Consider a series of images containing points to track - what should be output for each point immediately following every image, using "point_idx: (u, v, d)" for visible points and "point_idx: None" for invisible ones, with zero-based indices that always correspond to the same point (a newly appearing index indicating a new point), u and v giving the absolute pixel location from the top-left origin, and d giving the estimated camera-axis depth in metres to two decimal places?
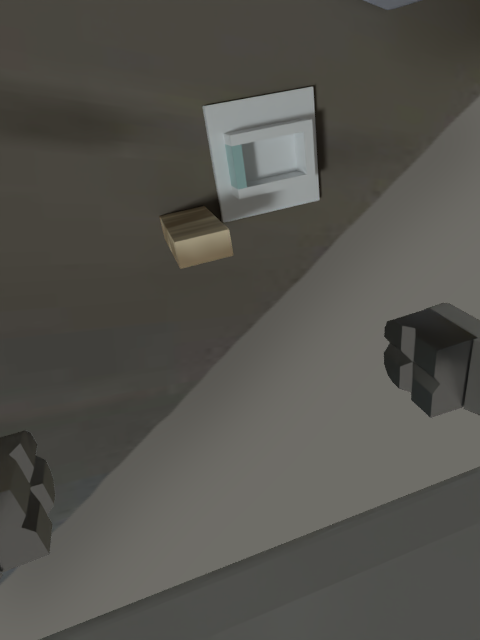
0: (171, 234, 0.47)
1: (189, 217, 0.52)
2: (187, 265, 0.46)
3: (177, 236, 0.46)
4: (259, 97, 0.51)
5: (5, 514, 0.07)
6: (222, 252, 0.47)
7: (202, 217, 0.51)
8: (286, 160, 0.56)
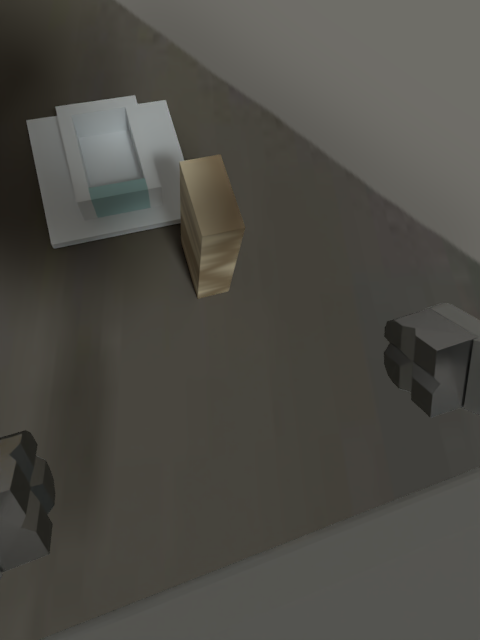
0: (200, 254, 0.31)
1: (188, 250, 0.37)
2: (238, 217, 0.29)
3: (199, 240, 0.30)
4: (39, 180, 0.41)
5: (5, 514, 0.07)
6: (216, 169, 0.30)
7: (184, 227, 0.36)
8: (116, 143, 0.43)
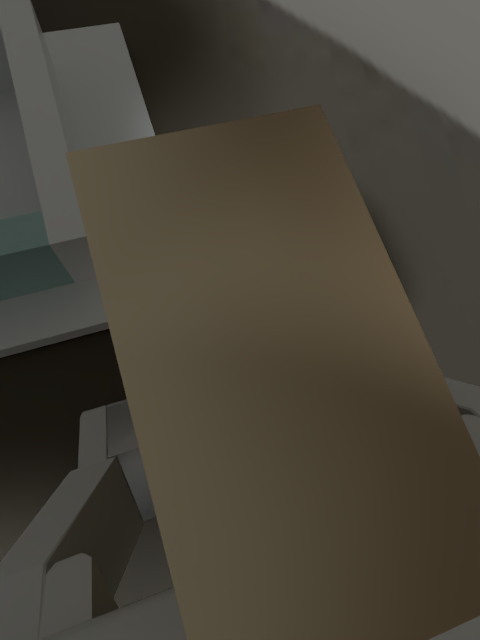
0: None
1: None
2: None
3: None
4: None
5: None
6: (304, 196, 0.05)
7: None
8: None
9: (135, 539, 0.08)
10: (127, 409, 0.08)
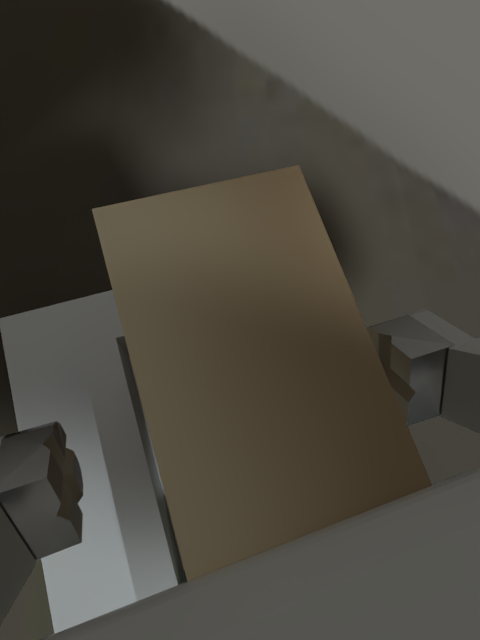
0: None
1: None
2: None
3: None
4: None
5: (41, 502, 0.07)
6: (284, 243, 0.06)
7: None
8: None
9: (24, 580, 0.07)
10: (22, 441, 0.08)
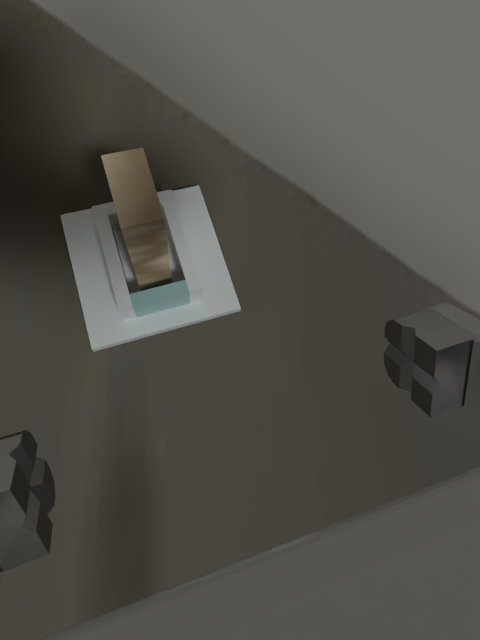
0: None
1: None
2: (159, 208, 0.29)
3: None
4: (76, 279, 0.40)
5: (5, 514, 0.07)
6: (138, 162, 0.30)
7: None
8: None
9: None
10: None
